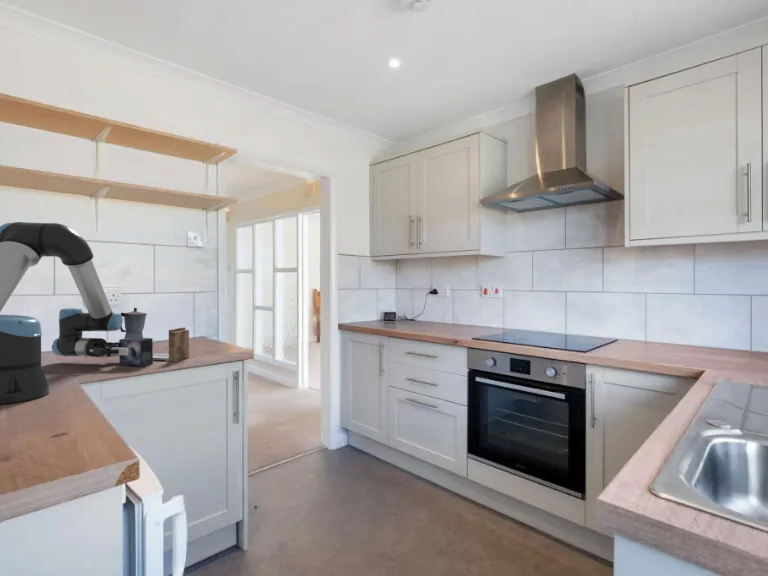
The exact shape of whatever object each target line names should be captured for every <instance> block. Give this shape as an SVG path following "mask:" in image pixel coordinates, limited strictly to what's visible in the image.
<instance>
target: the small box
mask: <svg viewBox="0 0 768 576" xmlns="http://www.w3.org/2000/svg"><path fill="white" fill-rule="evenodd" d="M118 342H119V348H128V355H119V366H121V365H124V366H125V367H135V368H136V367H137V368H142V367H146V366H151V365H153V364H154V361H153V349H152V343H153V338H152V337H151V338H150V337H143V338H136V337H131V338H126V339H124V338H121V339H119V340H118Z"/></svg>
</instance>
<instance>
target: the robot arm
mask: <svg viewBox="0 0 768 576" xmlns="http://www.w3.org/2000/svg"><path fill="white" fill-rule="evenodd" d="M43 257H56V258H59V259H60V260H61V263H62V264H63V265H64V266H67V269H68V270H69V272H70V274H71V277H72V279H73V281H74V283H75V285H76V288H77V290H78V293H79V294H80V296H81V298H82V301H83V304H84V305H85V307H86V310H87V311H88V312H83V309H82V308H80V307H79V308H77V307H69V308H67V307H66V308H61V309H60V310H59V315H58V331H59V333H58V334H59V336H58V337H57V338H55V340H53V343H52V344H51V352H53V354H54V355H57V356H61V357H84V359H87V358H88V357H89V358H90V357H91V358H102V357H105V356H106V357H107V358H111V355H112V356H120V355H128V348H119V341H118V342H117V341H115V342H113V341H111V342H108V341H107V340H106V339H104V338H100V337H83V332H114V331H120V328H121V326H122V327H123V323H124V322H123V321H124V318H123V316H122V315H121V313H119V312H115V311H114V312H113V310H112V308H111V305H110V302H109V300H108V298H107V295H106V292H105V291H104V290H105V289H104V287H103V285H102V282H101V279H100V277H99V275H98V272H97V270H96V267H95V264H94V262H93V259H94V254H93V250H92V249H91V247H90V245H89V244H88V242H87V241H86V240H85V238H83V236H81V235H80V234H79V233H78V232H77V231H76V230H74V229H73V228H71V227H69V226H67V225H65V224H61V223H57V222H50V223H49V222H47V223H46V222H25V221H15V222H7V223H4V224H1V225H0V312H2V310H3V308H4V307H5V305H6V303H7V302H8V301H9V299H10V298H11V296H12V294H13V292H14V291H15V289H16V288H17V287H18V285H19V283H20V282H21V280H22V279H23V277H24V275H25V274H26V272H27V271H28V270H29V267H34V266H37V265H38V263H39V262H40V260H42V258H43ZM41 326H42V325H41V321H40V320H39V319H38V318H35V317H32V316H27V315H18V314H16V315H15V314H0V405H2V404H3V405H4V404H12V403H19V402H25V401H31V400H35V399H38V398H42V397H45V396H46V395H48V394H49V393H50V383H49V382H48V381H47V378H46V376H45V375H46V374H45V373H44V371H43V369H42V368H43V367H42V335H43V333H42V327H41ZM153 349H154V342H152V350H153Z"/></svg>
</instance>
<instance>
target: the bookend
mask: <svg viewBox="0 0 768 576" xmlns="http://www.w3.org/2000/svg"><path fill="white" fill-rule="evenodd" d="M186 357H188V358H190V330H189V329H186V327H184V326H183V327H179V328H174V329H173V328H171V329H168V353H154V354H153V360H165V361H164V362H171V361H173V363H174V362H178V361H181V360H184V359H183V358H185V359H187V358H186ZM180 359H181V360H180ZM177 360H178V361H177Z"/></svg>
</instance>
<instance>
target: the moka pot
mask: <svg viewBox="0 0 768 576" xmlns="http://www.w3.org/2000/svg"><path fill="white" fill-rule="evenodd" d="M120 314H121V315H122V318H123V321H124V322H123V323H124V328H125V329H124V328H123V325H122V326H121V328H120V329H119V331H120V332H121V333H125V335H124V338H123V339H126V338H131V337H136V338H144V336H143V335H144V334H143V331H144V329H145V324H146V319H147V318H146V317H147V315H148V313H146V312H141V311H138V307H134V308H133V310H132V311H128V312H121V313H120Z"/></svg>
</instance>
